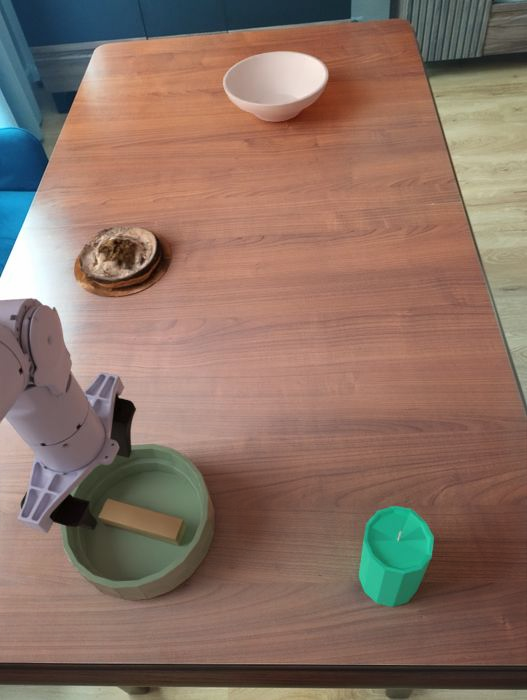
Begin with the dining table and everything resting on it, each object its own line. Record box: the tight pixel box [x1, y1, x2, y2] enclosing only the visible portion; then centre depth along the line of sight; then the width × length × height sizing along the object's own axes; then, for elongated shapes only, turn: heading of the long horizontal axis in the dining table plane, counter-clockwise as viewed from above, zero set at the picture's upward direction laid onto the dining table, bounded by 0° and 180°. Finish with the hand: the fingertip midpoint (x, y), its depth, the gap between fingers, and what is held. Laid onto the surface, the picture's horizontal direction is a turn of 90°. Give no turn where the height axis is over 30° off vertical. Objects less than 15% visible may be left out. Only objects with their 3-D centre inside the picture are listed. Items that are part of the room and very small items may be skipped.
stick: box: [99, 499, 187, 546], centre depth 62 cm, size 2×9×2 cm, turn 73°
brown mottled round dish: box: [73, 226, 172, 298], centre depth 89 cm, size 15×15×4 cm
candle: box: [358, 505, 435, 608], centre depth 54 cm, size 6×6×12 cm
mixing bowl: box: [59, 443, 216, 601], centre depth 62 cm, size 15×15×5 cm
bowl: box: [222, 50, 330, 123], centre depth 110 cm, size 20×20×7 cm
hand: (104, 487), depth 57 cm, fingers open, 7 cm apart
